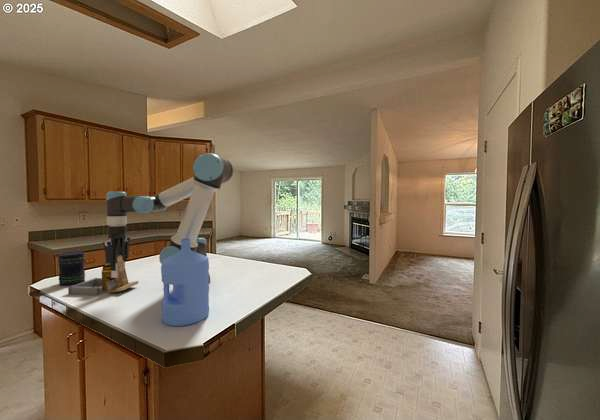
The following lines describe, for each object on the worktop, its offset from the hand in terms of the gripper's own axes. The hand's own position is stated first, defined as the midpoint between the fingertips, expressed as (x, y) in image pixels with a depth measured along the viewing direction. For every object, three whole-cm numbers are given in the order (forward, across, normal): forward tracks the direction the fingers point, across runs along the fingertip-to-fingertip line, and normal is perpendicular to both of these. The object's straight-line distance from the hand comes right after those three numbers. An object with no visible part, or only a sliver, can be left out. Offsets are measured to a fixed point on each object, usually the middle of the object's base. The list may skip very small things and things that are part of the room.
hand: (118, 276), depth 119 cm
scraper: (+6, 0, +3) cm, 6 cm away
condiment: (+7, -1, -6) cm, 9 cm away
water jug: (+7, +23, +45) cm, 51 cm away
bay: (+7, 0, -10) cm, 12 cm away
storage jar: (+7, -7, -30) cm, 32 cm away
